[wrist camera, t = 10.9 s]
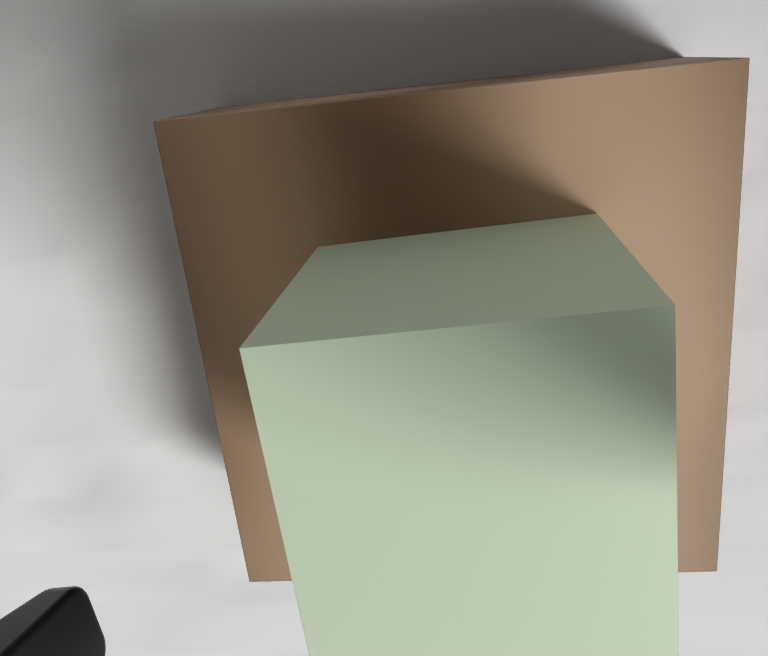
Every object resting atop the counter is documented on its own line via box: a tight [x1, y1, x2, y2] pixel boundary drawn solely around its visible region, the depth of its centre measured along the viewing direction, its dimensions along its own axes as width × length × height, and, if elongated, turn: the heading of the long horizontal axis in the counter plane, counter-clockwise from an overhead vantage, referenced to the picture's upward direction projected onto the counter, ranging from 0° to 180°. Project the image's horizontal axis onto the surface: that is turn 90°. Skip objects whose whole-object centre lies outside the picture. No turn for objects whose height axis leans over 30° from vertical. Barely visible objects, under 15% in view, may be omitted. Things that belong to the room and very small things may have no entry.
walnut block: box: [154, 57, 750, 582], centre depth 16 cm, size 10×10×4 cm
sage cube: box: [239, 213, 679, 656], centre depth 11 cm, size 5×5×5 cm
